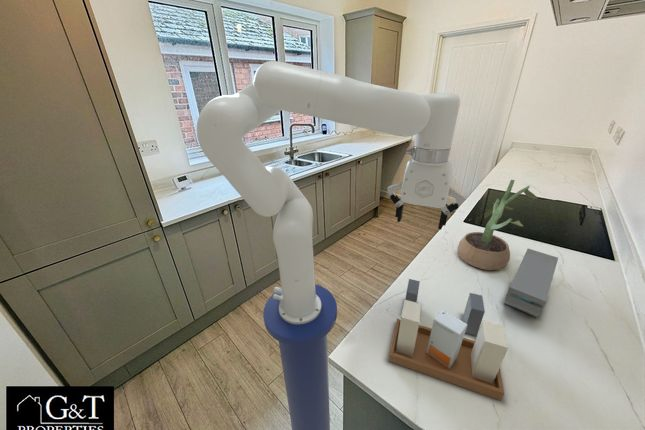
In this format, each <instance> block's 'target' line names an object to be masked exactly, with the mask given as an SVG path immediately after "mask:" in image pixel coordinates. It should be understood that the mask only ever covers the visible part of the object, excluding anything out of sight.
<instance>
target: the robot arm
mask: <svg viewBox="0 0 645 430" xmlns="http://www.w3.org/2000/svg"><path fill="white" fill-rule="evenodd" d="M460 105H461V97H460V96H459V94H457V93H453V92H432V93H431V92H430V93H425V94H418V93H415V92H409V91H405V90H400V89H397V88H392V87H387V86H383V85H378V84H373V83H370V82H365V81H361V80H357V79H355V78H352V77H349V76H346V75H341V74H339V73H333V72H327V71H323V70H319V69H314V68H311V67H306V66H302V65H298V64H297V65H296V64H293V63H287V62H283V61H278V60H269V61H265V62H263V63H262V64H261V65H259V67H258V68H257V69H256V71H255V73H254V77H253V81H252V82H250V83H249V84H248V85H246V86H244V88H242V89H241V90H239V91H238V92H236V93H235V94H229V95H228V94H225V95H220V96H217V97H214V98H212V99H210V100H209V101H207V103H206V104H205V105H204V106H203V107H202V108H201V111H200V113H199V115H198V118H197V122H196V137H197V141H198V144H199V146H200V149H201V150H202V152H203V154H204V155H205V157H206V158H207V160H209V162H210V163H211V164H212V165H213V167H215V168H216V169H217V170H218V171H219V173H220V174H222V175H223V177H224V178H225V179H226V180H227V181H228V183H229V184H230V185H231V187H232V188H233V189H234V190H235V191H236V192H237V193H238V195H240V197H241V198H242V199H243V200H244V202H245V203H246V204H247V205H248V206H249V207H250V208H251V209H252V211H253V212H255V213H256V214H257V215H259V216H261V217H265V218H269V217H274V216H275V215H277V216H276V220H275V223H274V225H273V229H272V230H273V231H272V241H273V245H274V249H275V253H276V256H277V258H276V259H277V264H278V271H279V279H280V287H279V286H275V287H274V288H273V294H274V293H277V294H281V296H279V295H276V294H274V295H273V294H272V295H273V299H276V300H279V301H280V304H279V313H280V316H281V317H282V319H284V320H285V321H286V322H288V323H291V324H305V323H309V322H311V321H313V320H314V319H315V318H316V317H317V316H318V315H319V313H320V311H321V300H320V298H319V297H318V296H317V295H316V291H315V284H316V275H315V260H314V258H315V257H314V244H313V243H314V242H313V230H314V229H313V228H314V226H313V225H314V211H313V207H312V205H311V203H310V202H309V200H308V198H306V196H305V194H303V192H302V191H301V190H300V188H299V187H298V186H297V184H295V182H294V181H293V180H292V178H291V177H290V176H289V175H288V174H287V173H286V171H284V170H282V169H281V168H279V167H277V166H265V165H264V163H262V161H261V160H260V158H259V157H258V156H257V154H256V153H255V152H254V151H253V150H252V149H250V148H249V147H248V146H247V145H246V144H245V142H244V140H243V138H244V136H246V135H248V134H249V133H251V132H252V131H254V130H255V129H257V128H258V127H260V126H262V125H263V124H264V123H266V122H267V121H268V120H270V119H271V118H273V117H274V116H275V115H277V114H279V113H280V112H282V111H284V112H289V113H294V114H299V115H304V116H309V117H314V118H318V119H323V120H326V121H330V122H334V123H338V124H342V125H348V126H352V127H353V126H354V127H357V128H360V129H361V128H362V129H365V130H369V131H374V132H379V133H383V134H386V135H387V134H388V135H392V136H397V137H406V138H407V137H412V136H414V144H413V146H412V147H407V148H406V150H405V154H406V155H409V156H411V158H409V159H408V161H407V163H406V167H405V170H404V173H403V174H404V175H403V177H402V178H403V179H402V181H400V182H396V183H394V184H392V185H389V186H388V187H387V188H386V191H387V194H388V196H389V199H390V200H391V201H392V203H393V204H394V206H395V207H396V208H395V218H397V220H396V222H397V223H401V221H402V219H403V215H404V214H403V213H404V205H405V204H410V205H415V206H423V207H428V208H436V209H439V208H440V210H441V212H440V216H439V221H438V227H437V229H438V230H440V231H441V230H443V229H442V228H443V226H446V225H447V219H448V216H449V215H450V214H452V213H453V212H455V211H456V210H458V209H459V207H460V206H461V205H463V203H464V202H465V201H466V196H465V195H463V194H462V193H461V192H458V191H457V190H456V189H454V188H452V187H451V181H452V171H453V170H452V169H453V167H452V165H453V164H452V162H451V161H450V155H451V150H452V145H453V141H454V140H453V139H454V134H455V130H456V125H457V120H458V115H459V110H460ZM398 190H400V197H399V196H398V195H397V193H396V192H395V191H398ZM449 196H451V197H452V198H453V199H455V200H454V202H452V203H450V204H449V203H448V198H449ZM281 288H282V289H281Z"/></svg>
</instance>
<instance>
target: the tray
mask: <svg viewBox="0 0 645 430" xmlns="http://www.w3.org/2000/svg"><path fill="white" fill-rule="evenodd" d="M400 321H401V318H396V322H395V326H394V330H393V336H392V341H391V345H390V350H389V355H388V362H390V363H393V364H396V365H399V366H401V367H404V368H407V369H410V370H413V371H416V372H418V373H421V374H424V375H426V376H430V377H433V378H435V379H438V380H440V381H444V382H447V383H450V384H453V385H455V386H458V387H460V388H464V389H466V390H469V391H472V392H475V393H478V394H480V395H484V396H487V397H489V398H493V399H495V400H498V401H502V399H503V397H504V395H505V390H504V383H503V378H502V374H501V373H502V372H501V367H500V368H499V370H498V373H497V375H496V377H495V380H494V382H493V384H491V383H488V382H485V381H482V380H479V379H476V378H473V377H472V365H471V352H472V349H473V346H474V343H475V340H473V339H469V338H466V337H463V341H462V344H461V347H460V350H459V353H458V356H457V359H456V360H455V362H454V363H453V364H452V366H451V367H450V369H448V368H447V367H446V366H444V365H443V364H442V363H440V362H439V361H438V360H436V359H435V358H433V357H432V356H431V355H429V354H428V353H426V351H427V346H428V342H429V338H430V334H431V330H432V327H428V326H424V325H421V324H419V327H418V332H417V337H416V342H415V348H414V353H413V357H411V356H408V355H405V354H402V353H399V352H396V348H397V341H398V335H399V328H400Z"/></svg>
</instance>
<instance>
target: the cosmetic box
mask: <svg viewBox="0 0 645 430" xmlns="http://www.w3.org/2000/svg"><path fill="white" fill-rule="evenodd" d="M467 326H468V324H466V323H464V322H463V320H461V319H459V318H458V317H457V316H455V315H452V314H451V313H448V312H447V311H446V310H443V309H441V310H440V311H439V313H438V314H437V315H436V316H435V317H434V319H433V322H432V326H431V329H432V330H431V334H430V338H429V342H428V346H427V351H426V353H428V354H429V355H431V356H432V357H433V358H435V359H436V360H438V361H439V362H440V363H442V364H443V365H444V366H446V367H447V368H448V369H450V367H451V366H452V364H453V363H454V362H455V360H456V359H457V356H458V353H459V350H460V347H461V344H462V341H463V338H465V335H466V333H465V331H466V328H467Z"/></svg>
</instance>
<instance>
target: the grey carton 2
mask: <svg viewBox="0 0 645 430" xmlns="http://www.w3.org/2000/svg"><path fill="white" fill-rule="evenodd" d="M484 304H485V303H484V297H483V295H481V294H477V293H473V292H469V295H468V298H467V301H466V305H465V307H464V312H463V315H462V321H463V322H464V323H466V324H468V326H467V328H466V331H465V334H468V335H471V336H475V337H477V334H478V331H479V329H480V326H481V323H482V320H483V318H484V315H485V314H486V313H485V312H486V311H485V305H484Z"/></svg>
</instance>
